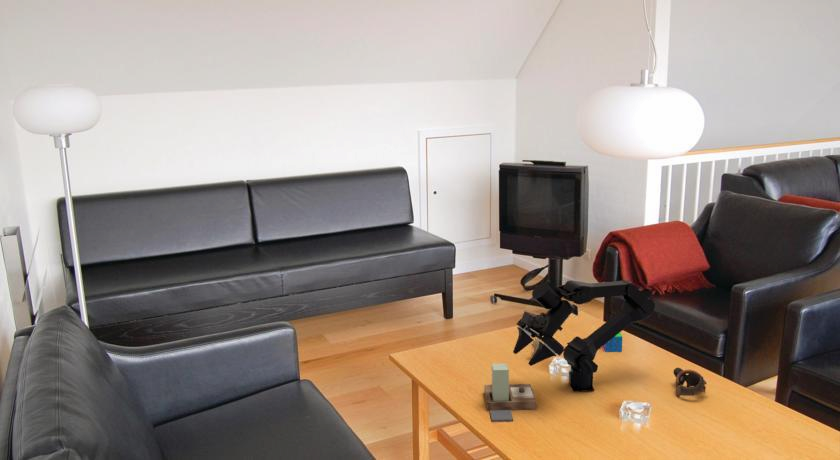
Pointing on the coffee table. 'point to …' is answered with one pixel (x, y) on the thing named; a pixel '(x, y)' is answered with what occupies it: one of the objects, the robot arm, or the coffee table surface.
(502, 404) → the brown sliding lid box
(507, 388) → the sage block
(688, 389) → the dark brown lobed piece
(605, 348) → the puzzle toy
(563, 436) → the coffee table surface
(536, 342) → the sea urchin
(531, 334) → the robot arm
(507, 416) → the charcoal mat
